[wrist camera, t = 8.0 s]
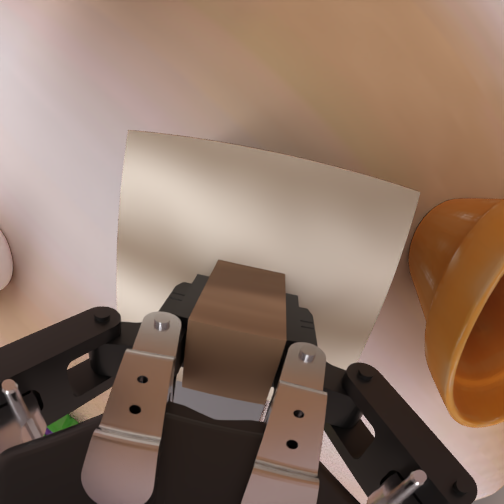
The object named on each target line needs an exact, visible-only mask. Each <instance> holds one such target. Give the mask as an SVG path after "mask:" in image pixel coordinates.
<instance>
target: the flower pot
mask: <svg viewBox="0 0 504 504" xmlns="http://www.w3.org/2000/svg"><path fill="white" fill-rule="evenodd" d="M409 269H410V274H411V277H412V280H413V283H414V286H415V288H416V291H417V295H418V298H419V301H420V304H421V307H422V310H423V313H424V316H425V319H426V329H425V356H426V360H427V364H428V367H429V370H430V372H431V375H432V377H433V380H434V382H435V384H436V386H437V389H438V391H439V393H440V395H441V397H442V399H443V402H444V404H445V406H446V408H447V410H448V412H449V414H450V415H451V417H452V418H453V419H454V420H455V421H457V422H458V423H460V424H461V425H464V426H467V427H474V428H475V427H487V426H491V425H495V424H499V423H501V422H504V199H452V200H448V201H445V202H443V203H441V204H439V205H438V206H436V207H435V208H433V209H432V210H431V211H430V212H429V213H428V214H427V215H426V216H425V217H424V218H423V220H422V221H421V222H420V224H419V226H418V227H417V229H416V231H415V233H414V236H413V239H412V242H411V246H410V251H409Z"/></svg>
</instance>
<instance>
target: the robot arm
mask: <svg viewBox="0 0 504 504" xmlns="http://www.w3.org/2000/svg"><path fill="white" fill-rule="evenodd" d="M209 277H210V276H205V275H201V274H197V276H196V277H195V279H194V281H193V282H192V284H191V283H187V282H182V283H180V284H178V285H176V286H175V288H174V289H173V291H172V293H170V295H169V296H168V298H167V299H166V301H165V302H164V304H163V305H162V307H161V308H160V310H159V311H158V312H152V313H149V314H147V315H146V316H145V317H144V318H143V320H142V322H138V323H136V322H122V321H121V315H120V314H119V312H118V311H116V310H115V309H112V308H109V307H94V308H91V309H89V310H87V311H84V312H82V313H80V314H77V315H75V316H73V317H70V318H68V319H66V320H63V321H61V322H59V323H56V324H54V325H52V326H49V327H47V328H45V329H42V330H40V331H38V332H35V333H33V334H31V335H28V336H26V337H24V338H21V339H19V340H17V341H15V342H12V343H10V344H8V345H5V346H3V347H1V348H0V504H360V503H359V502H358V501H357V500H356V499H355V498H354V497H353V496H352V495H351V494H350V493H349V491H348V490H347V489H346V488H345V487H344V486H343V485H342V484H341V483H340V482H339V481H338V480H337V479H336V478H335V477H334V476H333V475H332V474H331V473H330V471H329V470H328V469H327V468H326V467H325V466H324V465H323V464H322V463H321V462H320V461H319V460H320V453H321V446H322V438H323V431H325V432H326V434H327V436H328V437H329V439H330V440H331V442H332V443H333V445H334V447H335V448H336V450H337V451H338V453H339V454H340V456H341V457H342V459H343V460H344V462H345V464H346V465H347V467H348V468H349V470H350V471H351V473H352V474H353V476H354V477H355V479H356V480H357V482H358V483H359V485H360V486H361V488H362V489H363V491H364V492H365V494H366V495H367V497H368V500H367V504H471V503H472V502H473V501H474V500H475V498H476V496H477V485H476V483H475V481H474V479H473V478H472V477H471V475H470V474H469V473H468V472H467V471H466V470H465V469H464V467H463V466H462V465H461V464H460V463H459V462H458V460H457V459H456V458H455V457H454V456H453V455H452V454H451V452H450V451H449V450H448V449H447V448H446V447H445V446H444V444H443V443H442V442H441V441H440V440H439V439H438V438H437V436H436V435H435V434H434V433H433V432H432V431H431V430H430V429H429V427H428V426H427V425H426V424H425V423H424V422H423V421H422V420H421V418H420V417H419V416H418V415H417V414H416V413H415V412H414V410H413V409H412V408H411V407H410V406H409V405H408V404H407V403H406V402H405V400H404V399H403V398H402V397H401V396H400V395H399V394H398V393H397V391H396V390H395V389H394V388H393V387H392V386H391V385H390V384H389V383H388V381H387V380H386V379H385V378H384V377H383V376H382V375H381V374H380V372H379V371H378V370H376V369H375V368H374V367H372V366H370V365H368V364H365V363H353V364H350V365H349V366H348V367H347V369H346V370H344V369H341V368H338V367H336V366H333V365H331V364H329V363H328V362H326V355H325V353H324V352H323V351H322V350H321V349H320V348H319V347H318V345H317V338H316V332H315V326H314V319H313V315H312V314H311V313H310V311H309V310H308V309H307V308H302V307H299V301H298V295H293V294H288V293H286V339H287V341H286V344H285V347H284V350H283V353H282V356H281V359H280V362H279V365H278V368H277V371H276V374H275V377H274V380H273V383H272V386H271V387H274V392H273V395H272V397H271V400H270V403H269V406H268V410H267V413H266V416H265V419H264V422H260V421H254V420H216V419H213V418H210V417H208V416H206V415H204V414H202V413H199V412H197V411H195V410H193V409H191V408H189V407H187V406H185V405H181V404H178V403H174V397H175V390H176V382H177V374H178V373H179V370H180V368H181V367H183V366H184V355H185V345H186V335H187V325H188V319H189V317H190V315H191V313H192V311H193V309H194V307H195V305H196V303H197V301H198V299H199V297H200V295H201V293H202V291H203V289H204V287H205V285H206V283H207V281H208V279H209ZM86 353H89V359H87V360H85V361H83V362H82V363H80V364H78V365H76V366H74V367H72V368H70V369H68V370H67V367H68V365H69V363H70V362H71V361H73V360H75V359H77V358H78V357H80V356H82V355H84V354H86ZM112 386H113V387H112ZM111 387H112V389H111V392H110V395H109V398H108V401H107V404H106V407H105V410H104V413H103V414H101V415H98V416H96V417H93V418H91V419H88V420H86V421H83V422H81V423H78V424H76V425H73V426H70V427H68V428H65V429H62V430H60V431H57V432H54V433H51V434H49V435H46V436H44V434H45V432H46V427H47V426H49V425H50V424H52V423H54V422H55V421H57V420H59V419H60V418H62V417H64V416H65V415H67V414H69V413H70V412H72V411H74V410H75V409H77V408H79V407H80V406H82V405H84V404H85V403H87V402H88V401H90V400H92V399H93V398H95V397H96V396H98V395H100V394H101V393H103V392H104V391H106V390H108V389H109V388H111ZM362 415H364V416H365V417H366V419H367V420H368V421H369V423H370V424H371V425H372V426H373V428H374V431H375V438H374V436H373V435H372V434H371V432H370V431H369V430H368V428H367V427H366V426H365V424H364V423H363V422H362V420H361V419H360V418H361V417H362Z"/></svg>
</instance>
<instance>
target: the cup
mask: <svg viewBox="0 0 504 504" xmlns="http://www.w3.org/2000/svg"><path fill="white" fill-rule="evenodd" d="M12 272H13V261H12V255H11V251H10V248H9V245H8V242H7V240H6V238H5V236H4V235H3V233H2V231H1V230H0V290H2V289H3V288H4V287H5V286H6V285H7V284H8V283H9V281H10V279H11V276H12Z"/></svg>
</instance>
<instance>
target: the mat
mask: <svg viewBox="0 0 504 504" xmlns="http://www.w3.org/2000/svg"><path fill="white" fill-rule="evenodd" d="M174 403H178V404H181V405H185V406H187V407H189V408H191V409H193V410H195V411H197V412H199V413H202V414H204V415H206V416H208V417H210V418H213V419H216V420H254V421H259V419H260V417H261V414H262V411H263V408H264V405H262V404H257V403H251V402H246V401H241V400H236V399H231V398H226V397H222V396H217V395H213V394H208V393H204V392H200V391H196V390H192V389H188V388H184V387H182V382H181V381H177V382H176V390H175V397H174Z"/></svg>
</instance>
